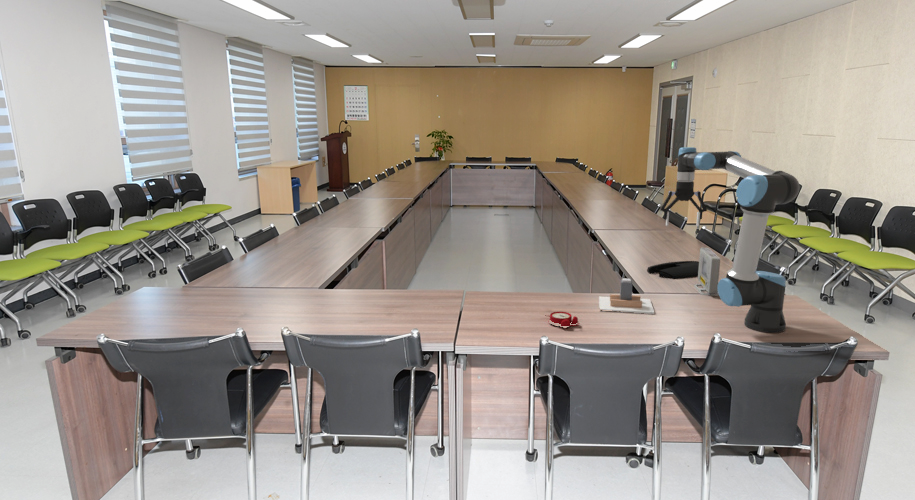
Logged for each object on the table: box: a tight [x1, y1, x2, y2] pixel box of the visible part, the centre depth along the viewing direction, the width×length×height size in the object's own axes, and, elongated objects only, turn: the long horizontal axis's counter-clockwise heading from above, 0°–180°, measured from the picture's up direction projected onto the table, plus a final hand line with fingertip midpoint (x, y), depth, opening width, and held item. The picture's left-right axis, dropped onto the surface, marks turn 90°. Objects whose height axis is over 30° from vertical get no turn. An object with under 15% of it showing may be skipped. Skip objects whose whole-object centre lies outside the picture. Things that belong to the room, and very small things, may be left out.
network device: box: [693, 247, 721, 297], centre depth 278 cm, size 26×9×20 cm, turn 168°
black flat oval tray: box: [646, 260, 699, 280], centre depth 316 cm, size 25×41×5 cm, turn 111°
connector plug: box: [619, 277, 633, 300], centre depth 256 cm, size 5×5×12 cm
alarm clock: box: [544, 311, 580, 327], centre depth 234 cm, size 10×6×15 cm
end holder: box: [598, 293, 655, 315], centre depth 257 cm, size 20×24×4 cm
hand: (682, 225), depth 257 cm, fingers open, 13 cm apart
